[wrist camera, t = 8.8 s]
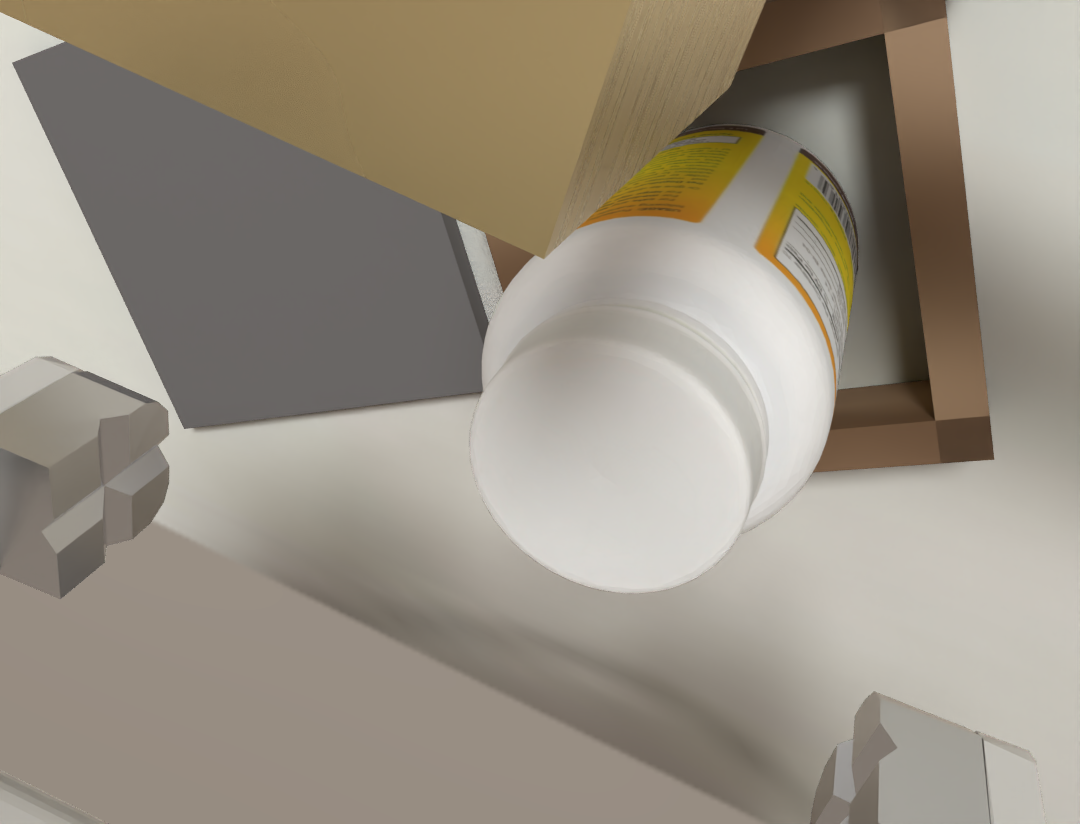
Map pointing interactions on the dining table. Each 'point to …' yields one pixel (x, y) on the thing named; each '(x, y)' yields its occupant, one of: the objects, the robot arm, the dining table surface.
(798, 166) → the supplement bottle
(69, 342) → the dining table surface
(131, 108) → the rubber mat
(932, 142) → the cup collar
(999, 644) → the dining table surface
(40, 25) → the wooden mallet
